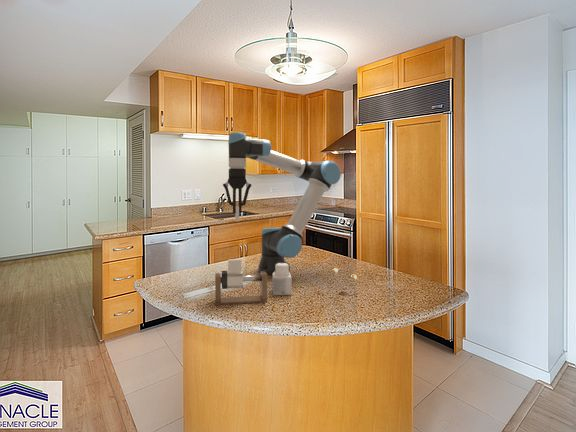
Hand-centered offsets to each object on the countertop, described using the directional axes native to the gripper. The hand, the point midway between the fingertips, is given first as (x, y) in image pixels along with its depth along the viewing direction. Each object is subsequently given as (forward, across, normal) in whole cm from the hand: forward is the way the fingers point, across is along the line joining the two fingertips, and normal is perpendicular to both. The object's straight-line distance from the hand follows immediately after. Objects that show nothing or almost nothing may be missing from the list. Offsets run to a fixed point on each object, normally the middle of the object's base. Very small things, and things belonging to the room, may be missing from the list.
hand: (237, 220), depth 156 cm
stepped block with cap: (+23, +3, +23) cm, 33 cm away
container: (+30, -18, +15) cm, 38 cm away
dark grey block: (+23, +6, +23) cm, 33 cm away
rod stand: (+29, 0, +23) cm, 37 cm away
